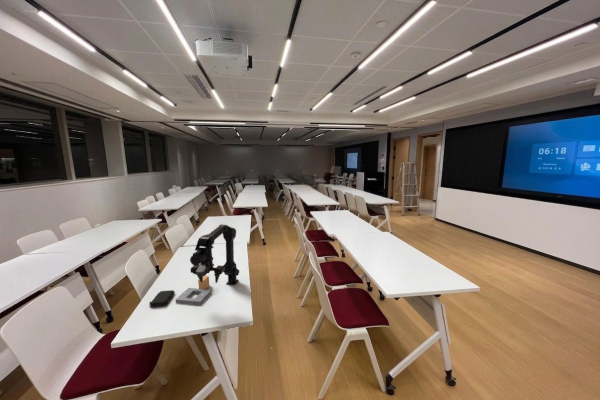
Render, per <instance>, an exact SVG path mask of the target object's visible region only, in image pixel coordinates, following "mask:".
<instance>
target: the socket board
mask: <svg viewBox="0 0 600 400" xmlns="http://www.w3.org/2000/svg"><path fill="white" fill-rule="evenodd" d="M194 294H195V295H197V296H195V298H194V297H193V298H192V297H191V296H192V295H194ZM211 294H212V289H208V288H206V289H199V288H194V287H187V289H185V290H184V291H183V292H181V294H180V295H179V296H178V297H177V298H175V303H176V304H188V305H197V306H201V304H203V302H205V301H206V300H207V298H208V297H209V296H210V295H211Z"/></svg>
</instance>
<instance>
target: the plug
mask: <svg viewBox="0 0 600 400" xmlns="http://www.w3.org/2000/svg"><path fill="white" fill-rule="evenodd" d="M209 278H210V277H209V275H205V276H203V282H201V281H200V280H199V279H198V280H197V281H198V289H208V287H210V279H209Z"/></svg>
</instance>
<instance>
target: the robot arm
mask: <svg viewBox="0 0 600 400" xmlns="http://www.w3.org/2000/svg"><path fill="white" fill-rule="evenodd" d="M221 235H222V237H223V239H224V241H225V263H224V264H223V265H217V266H216V267H214V266H215V264H214V261H213V260H214V259H215V258H214V257H213V251H212V249H214V246H213V245H214V244H215V241H216V239H218V238H219V237H220V236H221ZM236 236H237V229H236V228H234V227H232V226H229V225H227V224H221V223H220V224H219V225H218V226H217V227H215V229H213V230H212V231H211V232H209V233H206V234H204V235H201V236H200V237H199V238H198V240H197V242H196V245H195V249H194V251H195V252H193V253H192V255H191V257H190V258H189V261H190V263H191V265H192V267H190V273H191V274H193V275H196V276H197V278H198V280H200V281H201V282H203V276H207V274H209V273H210V272H213V273H214V274H213V276H214V277H215V279H214V280H215V281H214V282H215V284H217V283H218V282H219V279H220V276H221V275H222V274H223V273H224V275H225V276H227V281H226V284H225V285H232V286H235V285H237V283H238V282H239V279H237V277H238V276H239V275H240V270H239V269H238V267H237V263H236V262H235V261H234V260H235V259H234V257H235V254H234V252H235V251H234V250H235V249H234V240H235V238H236Z"/></svg>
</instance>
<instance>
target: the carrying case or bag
mask: <svg viewBox="0 0 600 400" xmlns="http://www.w3.org/2000/svg"><path fill="white" fill-rule="evenodd" d="M175 293H176V292H175V290H173V289H172V290H171V289H170V290H161V291H159V292H157V294H156V295H155V296H154V298H153V299H152V300H151V301H149V304H148V305H149V306H150V307H152V308H158V307H166V306H167V305H168V303H169V302H170V300H171V299H172V298H173V296H174V294H175Z"/></svg>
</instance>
